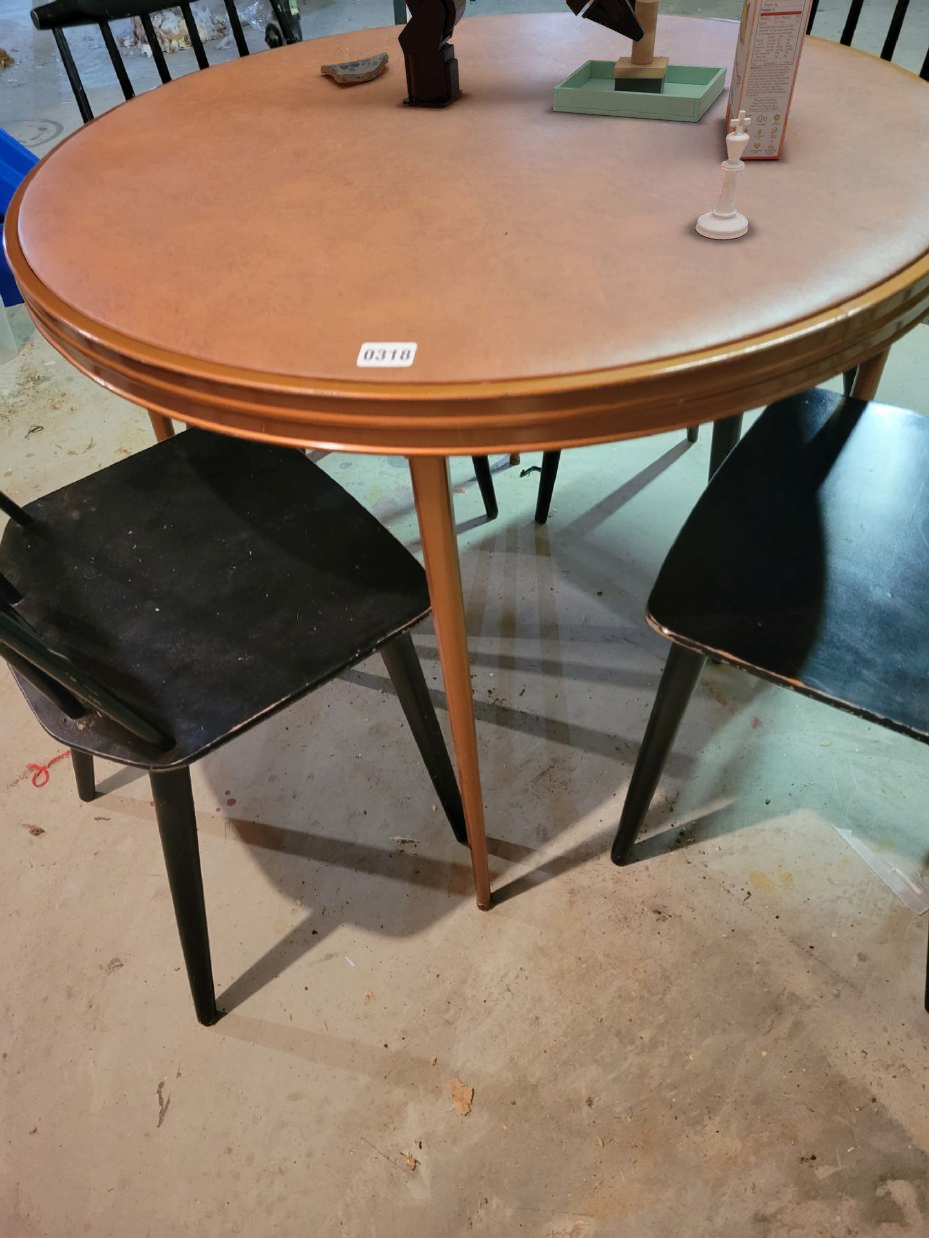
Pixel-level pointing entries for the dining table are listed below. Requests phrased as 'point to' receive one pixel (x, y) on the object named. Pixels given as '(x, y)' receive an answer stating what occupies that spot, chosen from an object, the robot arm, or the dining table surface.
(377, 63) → the ceramic fragment
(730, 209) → the chess piece
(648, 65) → the scrub brush
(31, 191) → the dining table surface
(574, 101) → the tray
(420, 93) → the robot arm
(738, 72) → the cracker box
